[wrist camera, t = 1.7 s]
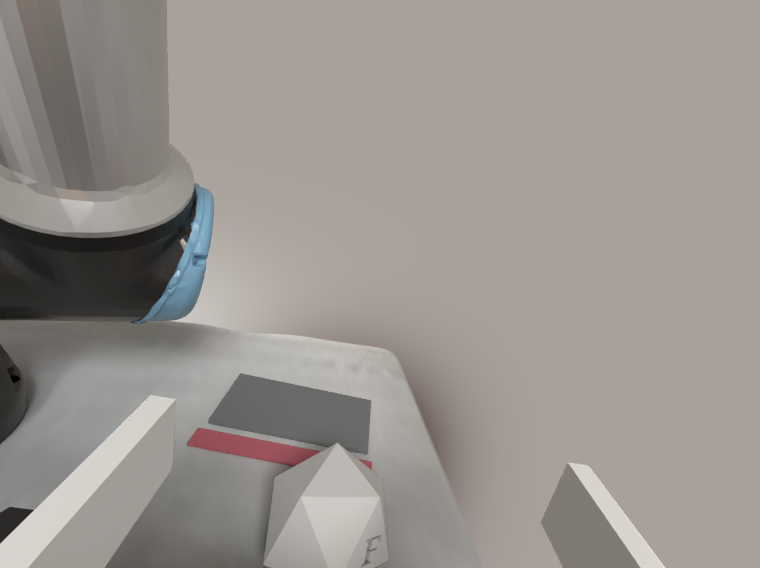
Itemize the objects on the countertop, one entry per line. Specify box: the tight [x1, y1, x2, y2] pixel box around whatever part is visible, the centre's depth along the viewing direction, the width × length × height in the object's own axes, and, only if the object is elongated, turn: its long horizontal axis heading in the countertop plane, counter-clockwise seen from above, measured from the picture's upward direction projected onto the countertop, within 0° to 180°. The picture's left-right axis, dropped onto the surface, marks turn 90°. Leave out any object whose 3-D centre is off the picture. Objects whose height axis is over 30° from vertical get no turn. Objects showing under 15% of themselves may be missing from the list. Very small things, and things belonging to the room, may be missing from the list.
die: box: [263, 443, 389, 568], centre depth 25 cm, size 8×9×10 cm
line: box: [187, 428, 372, 469], centre depth 33 cm, size 17×2×1 cm, turn 89°
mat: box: [208, 373, 371, 454], centre depth 39 cm, size 16×8×1 cm, turn 89°
